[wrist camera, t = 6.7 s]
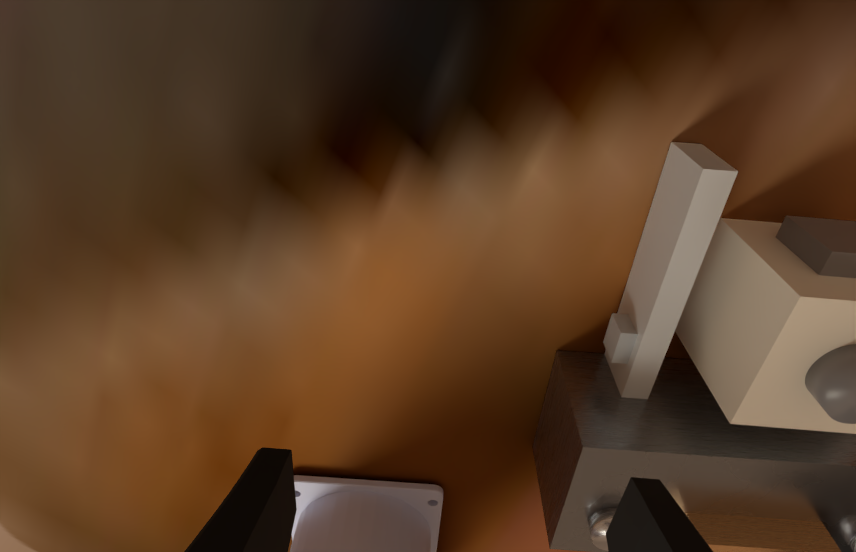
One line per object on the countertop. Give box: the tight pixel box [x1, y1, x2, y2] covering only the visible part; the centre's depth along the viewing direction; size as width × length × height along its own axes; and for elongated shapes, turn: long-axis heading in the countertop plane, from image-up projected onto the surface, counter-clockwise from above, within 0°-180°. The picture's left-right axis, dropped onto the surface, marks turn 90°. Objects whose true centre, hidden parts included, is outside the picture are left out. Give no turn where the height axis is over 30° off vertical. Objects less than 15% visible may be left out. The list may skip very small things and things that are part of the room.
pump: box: [675, 215, 856, 434], centre depth 17 cm, size 6×5×6 cm
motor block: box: [533, 350, 856, 552], centre depth 21 cm, size 6×14×6 cm, turn 86°
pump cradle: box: [603, 142, 738, 399], centre depth 18 cm, size 9×11×2 cm
